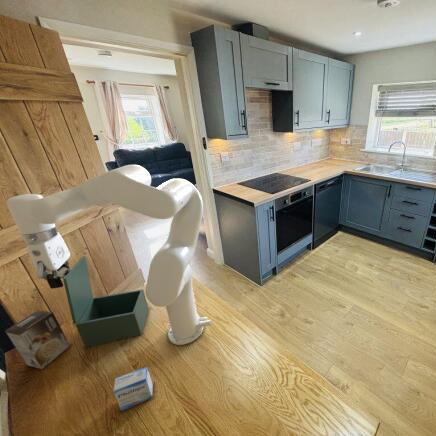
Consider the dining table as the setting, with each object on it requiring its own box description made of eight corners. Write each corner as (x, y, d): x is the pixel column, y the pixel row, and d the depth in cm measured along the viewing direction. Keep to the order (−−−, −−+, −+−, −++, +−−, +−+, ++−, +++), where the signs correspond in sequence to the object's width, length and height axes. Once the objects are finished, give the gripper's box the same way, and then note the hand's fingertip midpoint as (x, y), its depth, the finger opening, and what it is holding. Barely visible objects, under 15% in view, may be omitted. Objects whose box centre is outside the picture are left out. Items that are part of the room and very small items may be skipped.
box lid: (85, 256, 86) (65, 256, 84) (66, 278, 74) (42, 280, 72) (93, 296, 92) (75, 298, 90) (76, 323, 80) (55, 326, 79)
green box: (148, 309, 102) (143, 289, 98) (141, 334, 90) (134, 313, 86) (100, 318, 97) (92, 297, 92) (85, 347, 85) (75, 324, 80)
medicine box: (121, 411, 67) (112, 392, 63) (122, 396, 70) (114, 377, 67) (152, 398, 70) (146, 379, 67) (153, 384, 74) (146, 365, 70)
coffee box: (56, 342, 86) (39, 308, 80) (71, 345, 85) (54, 311, 79) (26, 366, 78) (3, 330, 72) (41, 370, 77) (20, 334, 71)
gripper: (39, 246, 67) (62, 296, 74) (69, 222, 82) (86, 266, 89) (4, 249, 65) (31, 301, 72) (42, 224, 79) (61, 269, 87)
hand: (61, 281), depth 80 cm, fingers closed on box lid, 5 cm apart
